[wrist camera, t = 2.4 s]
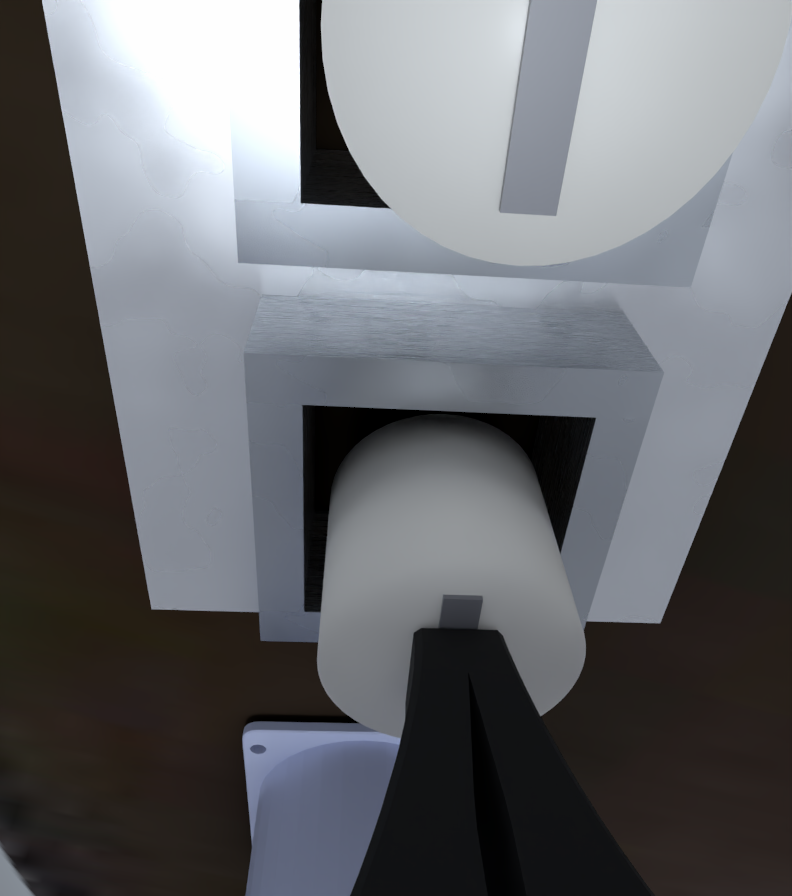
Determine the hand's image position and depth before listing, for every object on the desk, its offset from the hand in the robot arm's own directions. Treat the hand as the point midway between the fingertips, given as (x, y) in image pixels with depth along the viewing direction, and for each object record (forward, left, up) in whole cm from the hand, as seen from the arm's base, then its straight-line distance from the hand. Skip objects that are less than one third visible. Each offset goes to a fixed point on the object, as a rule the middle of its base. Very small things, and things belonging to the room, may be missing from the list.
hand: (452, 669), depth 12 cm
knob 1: (+9, 0, -4) cm, 10 cm away
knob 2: (0, 0, -4) cm, 4 cm away
